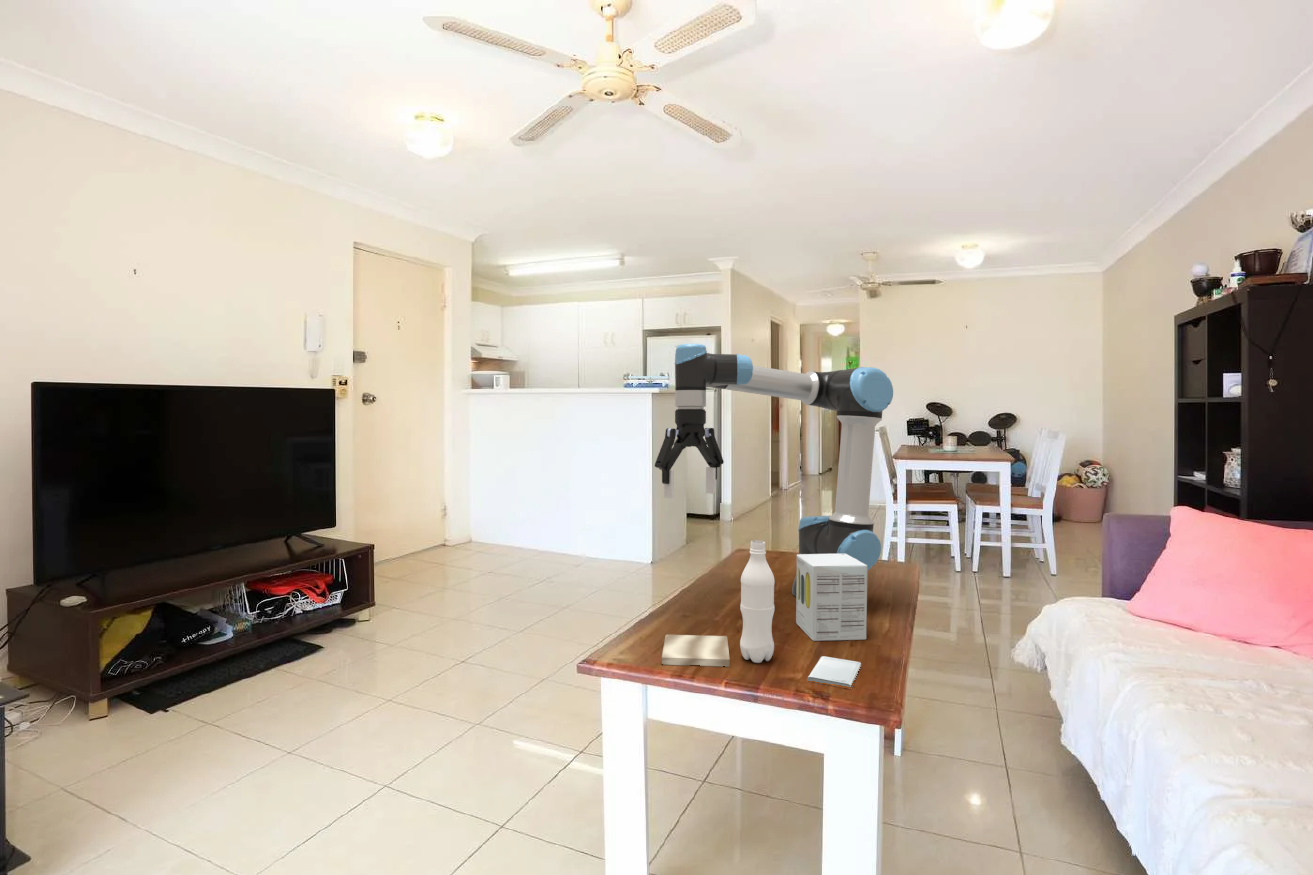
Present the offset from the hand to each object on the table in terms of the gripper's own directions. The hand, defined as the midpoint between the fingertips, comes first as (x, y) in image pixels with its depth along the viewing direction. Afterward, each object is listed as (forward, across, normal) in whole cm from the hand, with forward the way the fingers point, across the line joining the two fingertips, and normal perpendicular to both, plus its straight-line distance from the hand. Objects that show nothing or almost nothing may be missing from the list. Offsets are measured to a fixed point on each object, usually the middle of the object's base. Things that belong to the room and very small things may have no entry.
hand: (690, 495), depth 156 cm
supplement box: (+33, -24, +23) cm, 47 cm away
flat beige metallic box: (+32, +11, +14) cm, 37 cm away
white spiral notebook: (+33, -4, +40) cm, 52 cm away
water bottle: (+32, +3, +24) cm, 41 cm away
